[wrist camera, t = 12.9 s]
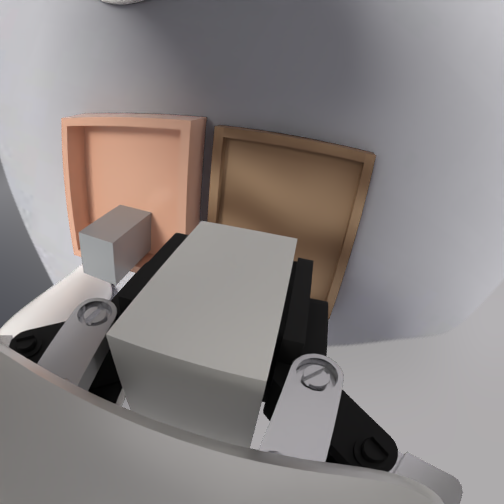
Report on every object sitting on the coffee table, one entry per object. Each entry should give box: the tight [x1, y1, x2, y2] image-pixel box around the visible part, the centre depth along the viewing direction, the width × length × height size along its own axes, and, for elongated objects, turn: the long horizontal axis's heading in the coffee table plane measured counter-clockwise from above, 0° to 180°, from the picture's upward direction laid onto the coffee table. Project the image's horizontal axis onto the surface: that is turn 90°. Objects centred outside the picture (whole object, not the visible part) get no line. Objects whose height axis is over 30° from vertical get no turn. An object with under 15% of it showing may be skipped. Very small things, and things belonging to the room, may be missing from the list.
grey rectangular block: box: [79, 205, 152, 285], centre depth 25 cm, size 4×3×6 cm
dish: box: [62, 113, 207, 273], centre depth 25 cm, size 13×12×3 cm
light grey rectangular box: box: [106, 221, 297, 448], centre depth 9 cm, size 4×3×6 cm
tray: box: [207, 125, 376, 319], centre depth 24 cm, size 14×11×1 cm
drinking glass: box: [0, 265, 112, 338], centre depth 26 cm, size 7×7×15 cm
